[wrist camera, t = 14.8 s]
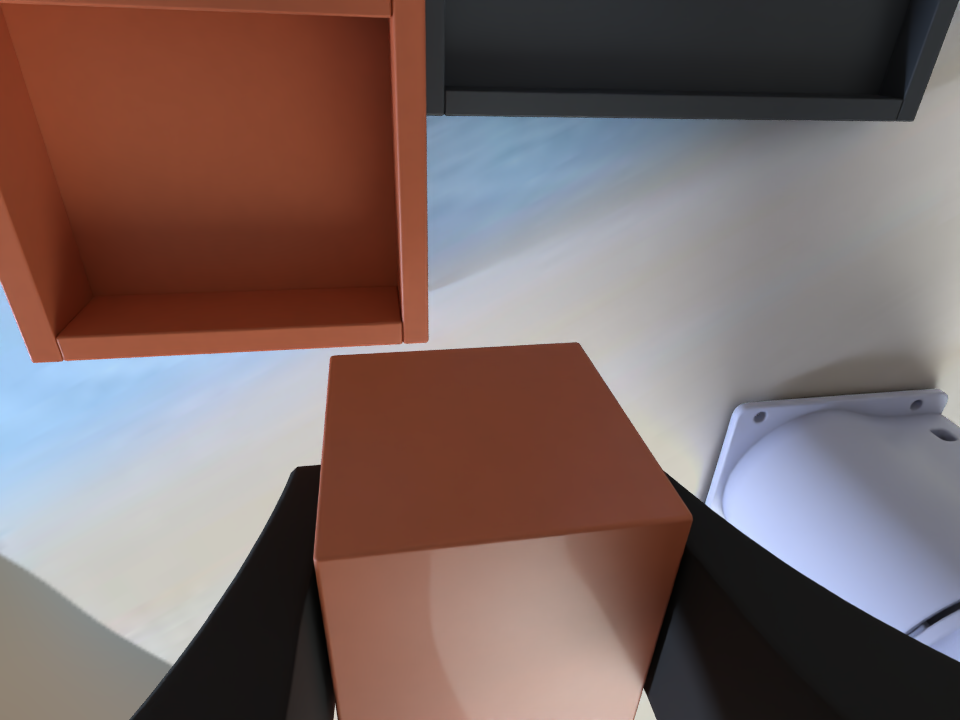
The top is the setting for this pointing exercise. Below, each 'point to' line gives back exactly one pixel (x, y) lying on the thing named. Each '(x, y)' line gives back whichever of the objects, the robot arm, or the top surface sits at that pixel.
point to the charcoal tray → (683, 58)
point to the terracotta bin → (213, 175)
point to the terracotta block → (489, 538)
